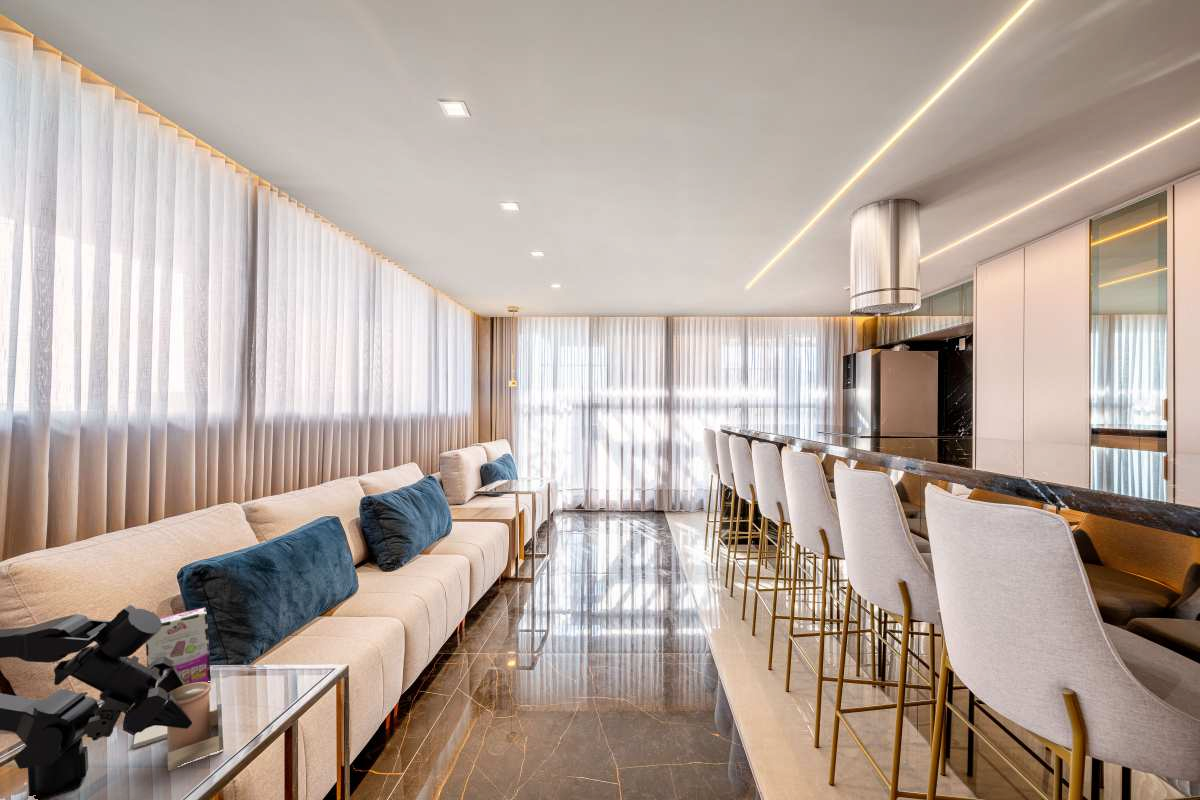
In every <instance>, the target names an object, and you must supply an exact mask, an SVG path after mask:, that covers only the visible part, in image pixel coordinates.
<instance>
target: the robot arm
mask: <svg viewBox="0 0 1200 800" xmlns="http://www.w3.org/2000/svg"><path fill="white" fill-rule="evenodd" d="M159 618H160V617H159V616H158V615H157V614H156V613H155V612H154V611H150V610H148V609H143V608H136V607H135V606H133V605H131V604H129V605H128V606H126V607H124V608H123V609H121V610H120V611H119V612H118V613H117V614H116V616H114V618H113V619H112V620H106V619H105V620H104V619H94V618H93V619H92V618H88V617H87V615H85V614H71V615H68V616H67V615H66V616H62V617H58V618H53V619H50V620H47V621H43V622H41V623H38V624H34V625H31V626H24V627H12V628H1V629H0V659H6V658H13V659H14V658H16V659H17V658H18V659H20V660H22V661H24V662H28V663H45V664H46V663H48V664H49V663H50V664H51V663H56V662H59V661H60V662H59V663H58V664H57V665H56V666H55V667H54V669H53V672H54V682H53V684H54V685H55V686H58V685H60V684H61V683H63V682H64V681H65V680H66V679H67V678H68V677H72V678H74V679H76V680H78V681H80V682H81V683H83V684H85V685H88V686H89V687H92V688H94V689H95V690H97V691H99V692H100V693H99V699H100V700H101V701H103V702H102V704H101V706H100V705H99V704H98V700H97V699H96V698H94V697H92V696H89V695H88V692H87V691H83V692H75V691H72V690H70V689H63V688H61V689H60V688H59V690H57V691H56V692H55V693H53V694H51V695H50V696H49V697H47V698H44V699H36V698H29V697H23V696H17V695H13V694H12V695H11V694H7V693H1V692H0V731H4V732H7V733H8V732H9V733H14V734H16V735H17V737H18V738H19V739H20V741H22V743H23V744H24V745H25V746H24V747H23V748H22V749H21V750H20V751H19V752H18V753H17V754H16V755H15V756H14V761H15V763H16V766H17V768H18V769H21V770H22V769H27V780H28V781H27V783H28V795H29V796H33V795H36V796H34V798H35V799H38V800H46V799H49V798H51V797H55V796H57V795H60V794H62V793H67V792H69V791H73V790H75V789H77V788H79V787H81V786H82V784H83V783H82V782H83V779H84V778H85V777H87V775H88V774H87V773H88V771H89V755H88V751H89V750H88V746H87V745H84V744H83V743H84V742H83V737H85V735H86V738H90V739H91V741H94V742H95V741H97V740H99V739H101V738H103V737H104V738H110V737H111V736H112V734H113V732H114V728H115V726H116V724H117V722H118V720H119V718H120V717H121V714H122V713H124V718H123V721H122V731H123V732H125V733H128V734H130V735H132V736H135V734H136V733H137V732H142V731H143V730H145V729H146V728H149V727H152V726H155V725H156V726H168V727H176V728H184V729H187V728H189V727H190V726H191V725H192V721H191V720H190V718H189V717H188V715H187V714H186V713H185V711H184V710H183V709H182V707H181V706H180V705H179V703H178V702H177V701H176V699H175V698H174V697H173V695H172V694H171V693H169V692H171V691H173V690H174V689H176V688H179V687H181V686H184V685H185V684H184V682H183V681H182V679H181V677H180V675H179V673H178V671H177V670H176V667H175V665H173V666H172V664H173V661H172V660H170V659H168V658H167V657H165V656H164V657H159V658H156V659H155V660H154V661H153V662H152V663H151V664H150V665H149V666H148V667H147V665H146V666H145V665H144V664H142V663H140V662H139V659H140V658H139V657H138V656H136V655H133V654H134V653H136V652H137V651H138V650H139V649H141V648H142V646H144V645H146V642H147V641H148V640H149V639H150V638H152V637H153V636H154V635H155V634H156V633H157V632H158V631H160V629H161V627H162V623H161V620H160V619H159ZM93 643H96V644H94V645H93V646H92V645H91V644H93ZM90 645H91V646H90ZM74 653H75V655H74V656H73V657H72V658H70V659H67V660H63V659H64V658H66V657H68V656H69V655H70V654H74ZM132 655H133V656H132ZM165 669H169V670H168V671H165ZM168 693H169V694H168ZM87 695H88V696H87Z"/></svg>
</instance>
